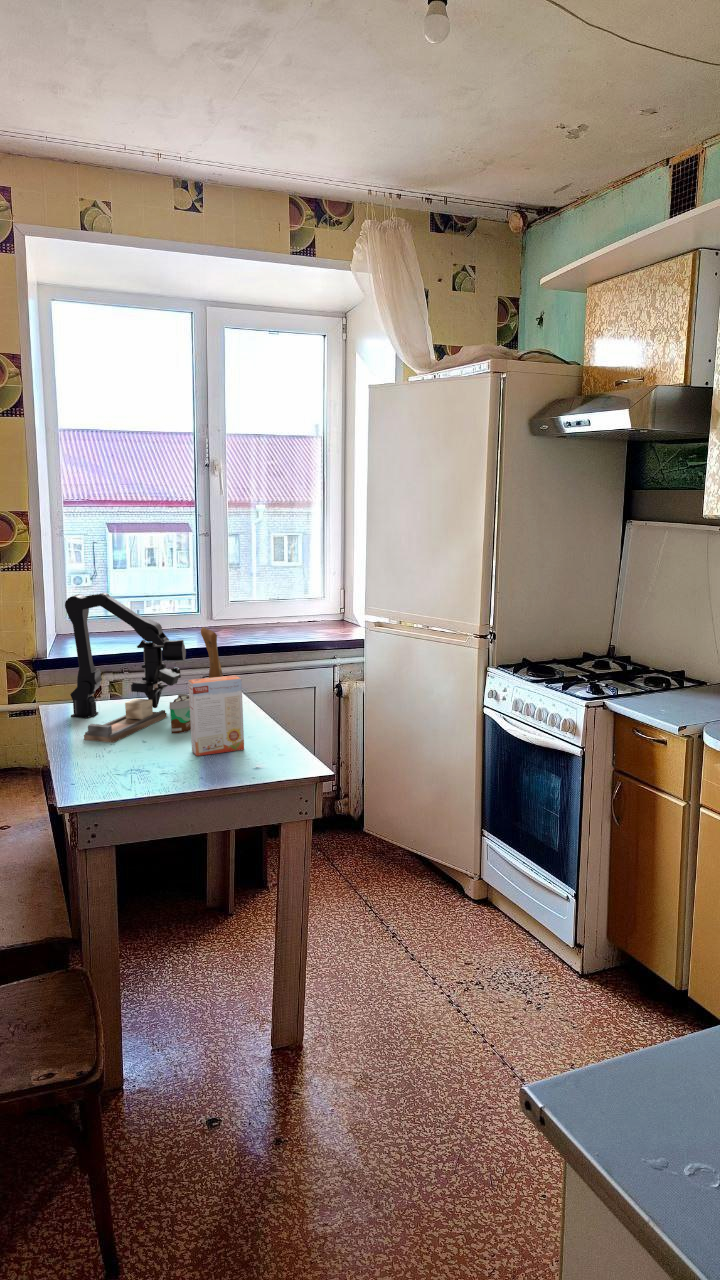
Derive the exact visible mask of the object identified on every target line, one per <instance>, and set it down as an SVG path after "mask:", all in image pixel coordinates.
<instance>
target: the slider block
mask: <svg viewBox="0 0 720 1280" xmlns="http://www.w3.org/2000/svg"><path fill="white" fill-rule="evenodd" d="M124 706H125V715H126V718H130V719H141V720H142V719H144V718H146V717H148V716H151V715H153V712H154V710H153V709H154V708H153V706H152V700H149V699H148V698H146V699H145V698H136V697H135V698H133V699H131V700H128V701H126V702H125V703H124Z"/></svg>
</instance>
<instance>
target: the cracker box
mask: <svg viewBox="0 0 720 1280" xmlns="http://www.w3.org/2000/svg"><path fill="white" fill-rule="evenodd" d="M242 680H243V679H242V678H241V677H240V676H237V675H235V674H234V675H227V676H226V675H225V676H224V675H223V677H213V678H208V677H205V678H195V679H189V680H188V695H189V704H190V723H191V730H190V739H191V751H192V753H193V754H194V755H195V756H196V757H200V756H207V755H213V754H214V755H215V754H223V753H228V752H229V753H230V752H237V751H243V750H245V738H244V737H245V734H244V709H243V683H242Z"/></svg>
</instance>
